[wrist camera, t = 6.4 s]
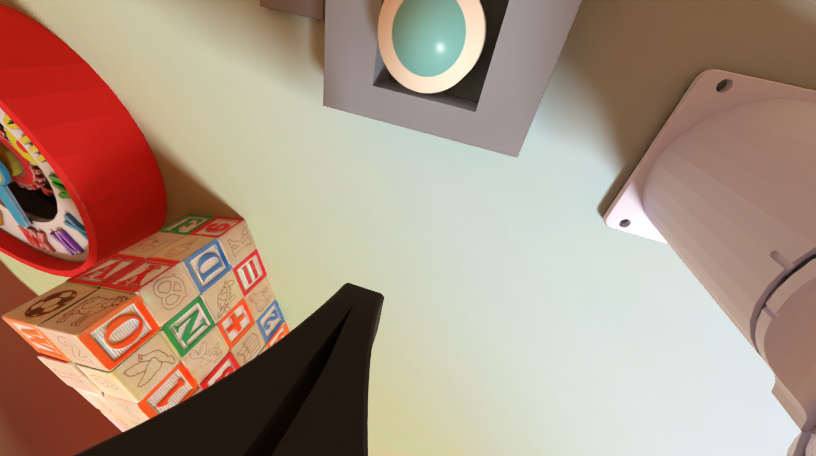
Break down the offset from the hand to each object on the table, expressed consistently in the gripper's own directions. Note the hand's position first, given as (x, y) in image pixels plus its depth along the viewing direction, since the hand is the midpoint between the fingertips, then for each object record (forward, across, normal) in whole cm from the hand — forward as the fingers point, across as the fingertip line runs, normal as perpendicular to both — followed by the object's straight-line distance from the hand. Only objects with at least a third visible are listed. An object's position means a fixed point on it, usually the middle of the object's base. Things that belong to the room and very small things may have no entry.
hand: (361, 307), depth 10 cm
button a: (+10, +1, -8) cm, 13 cm away
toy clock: (+11, +31, +6) cm, 34 cm away
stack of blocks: (+11, +14, +18) cm, 26 cm away
